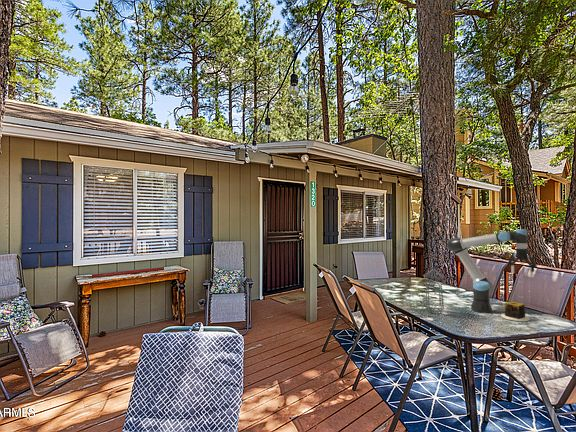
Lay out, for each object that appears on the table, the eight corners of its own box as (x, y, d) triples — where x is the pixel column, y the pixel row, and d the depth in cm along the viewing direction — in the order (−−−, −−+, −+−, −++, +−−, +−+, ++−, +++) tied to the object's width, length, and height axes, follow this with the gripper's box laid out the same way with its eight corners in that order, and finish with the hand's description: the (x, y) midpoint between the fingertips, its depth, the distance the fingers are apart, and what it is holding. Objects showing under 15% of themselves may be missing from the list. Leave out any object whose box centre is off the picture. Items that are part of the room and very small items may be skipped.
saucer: (495, 316, 253) (495, 315, 253) (508, 313, 262) (508, 312, 262) (521, 323, 237) (521, 321, 237) (534, 319, 246) (534, 318, 246)
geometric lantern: (425, 314, 261) (423, 270, 263) (424, 309, 276) (423, 267, 277) (446, 315, 256) (445, 270, 257) (444, 310, 271) (443, 268, 272)
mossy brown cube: (518, 319, 243) (518, 305, 243) (504, 315, 252) (504, 302, 252) (525, 317, 248) (525, 304, 248) (511, 314, 257) (511, 301, 257)
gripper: (541, 249, 255) (542, 276, 255) (507, 247, 277) (508, 272, 277) (537, 249, 252) (537, 277, 252) (502, 247, 274) (503, 272, 274)
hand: (521, 274), depth 264 cm, fingers open, 13 cm apart
